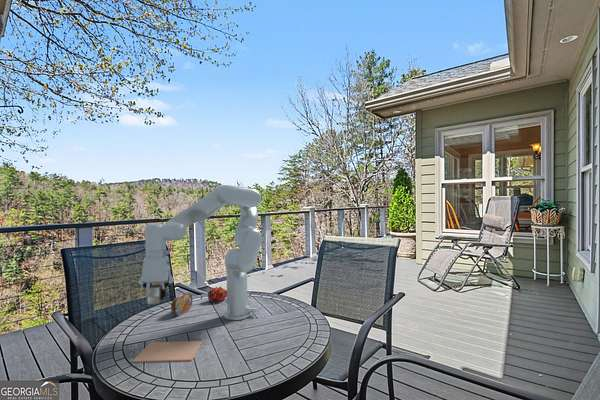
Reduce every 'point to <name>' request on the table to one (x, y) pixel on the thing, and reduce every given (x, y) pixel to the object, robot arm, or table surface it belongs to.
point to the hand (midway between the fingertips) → (156, 298)
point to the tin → (181, 304)
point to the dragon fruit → (217, 294)
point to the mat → (169, 351)
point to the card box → (154, 293)
